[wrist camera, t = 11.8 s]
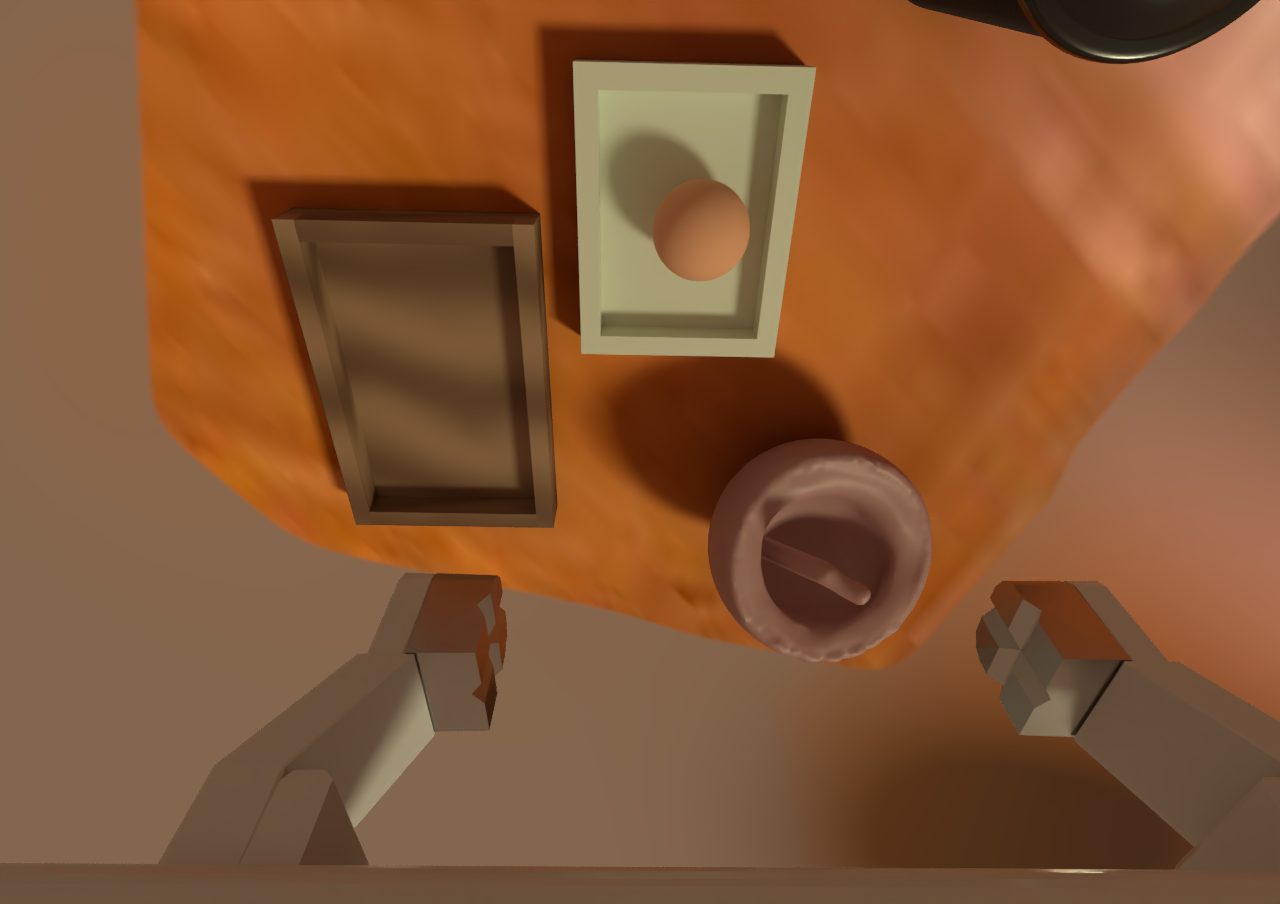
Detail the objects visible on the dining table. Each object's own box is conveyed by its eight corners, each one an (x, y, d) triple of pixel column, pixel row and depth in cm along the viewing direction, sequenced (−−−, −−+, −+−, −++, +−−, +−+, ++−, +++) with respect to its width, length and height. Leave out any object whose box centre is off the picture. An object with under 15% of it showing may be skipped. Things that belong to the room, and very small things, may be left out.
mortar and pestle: (933, 441, 39) (1029, 575, 29) (826, 575, 45) (876, 723, 35) (757, 369, 36) (800, 491, 27) (668, 522, 42) (677, 666, 33)
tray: (576, 59, 28) (572, 61, 27) (805, 65, 28) (816, 67, 27) (584, 338, 35) (581, 353, 34) (767, 342, 36) (773, 357, 34)
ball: (638, 268, 32) (669, 298, 28) (641, 172, 30) (674, 192, 26) (721, 262, 33) (760, 290, 30) (730, 168, 31) (773, 188, 27)
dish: (292, 208, 32) (271, 219, 30) (539, 213, 32) (533, 224, 30) (368, 502, 41) (356, 524, 40) (557, 505, 42) (553, 527, 40)
